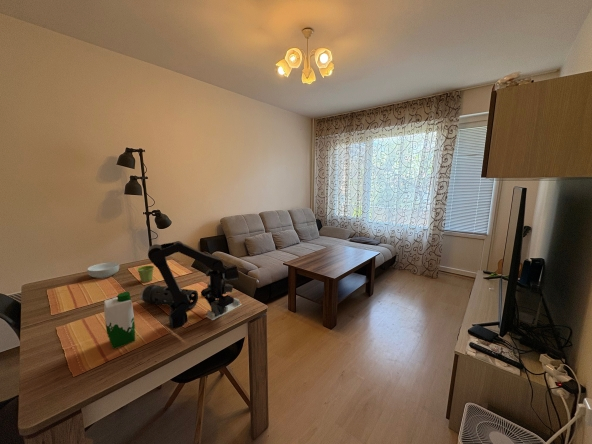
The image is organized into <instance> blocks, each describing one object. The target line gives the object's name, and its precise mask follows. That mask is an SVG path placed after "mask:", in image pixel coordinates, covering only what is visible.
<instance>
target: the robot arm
mask: <svg viewBox="0 0 592 444" xmlns="http://www.w3.org/2000/svg"><path fill="white" fill-rule="evenodd" d="M176 253H180V254H182V255H185V256H186V257H188V258H191V259H192V260H195V261H197V262H200V263H202V264H203V265H204V266H206V267H207V268H209V269H207V270H206V272H205V273H204V274H205V276H206V277H209V283H210V285H208V284H207V285H208V288H207V287H205V288H203V289H202V290H201V291H200V296H201V297H203V298H204V299H205V300H206V302H207V304H209V306H210V307H211V303H212V302H214V301H216V299H219V303H218V304H217V307H218V310H219V312H220V314H221V315H222V314H223V312H224V309H225V306H227V305H229V304H231V303H233V302H234V298H235V297H233V296H231V295H229V294H227V293H232V292H233V288H234V285H232V284H230V283H227V282H228V281H233V280H238V279H239V276H240V274H239V271H238V266H237V265H236V264H235V265H231V266H225V264H224V262H223V260H221V259H220V256H216V255H213V254H210V253H209V254H208V253H205V252H203V251H200V250H198V249H196V248H195V247H192V246H190V245H187V244H185V243H183V242H182V241H180V240H177V241H173V242H168V243H166V242H165V243H161V244H158V243H157V244H155V243H154V244H152V245H151V246H150V247H149V248H148V251H147V258H148V259H149V261H150V262H151V263H152V264H153V266H154V267H156V268H157V269H158V271H159V273H160V275H161V277H162V279H163V281H164V283H165V285H166V287H168V289H169V290H170V292H171V294H172V298H173V303H172V304H171V305H170V306H169V314H168V321H169V327H170V328H172V329H173V330H174V329H176V328H177V329H178V328H182V327H183V326H185V324H186V323H188V321H189V320H188V313H187V310H188V309H190V308H189V302H190V299H189V296H188V295H187V293H186V290H183V291H182V290H181V289H182V288H180V286H179V284H178V281H177V280H176V278H175V276H174V274H173V272H172V270H171V268H170V266H169V264H168V261H167V258H168V257H169V256H172V255H174V254H176ZM226 281H227V282H226ZM222 316H223V315H222Z"/></svg>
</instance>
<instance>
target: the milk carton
mask: <svg viewBox="0 0 592 444" xmlns="http://www.w3.org/2000/svg"><path fill="white" fill-rule="evenodd" d="M103 308H104V312H103V314H104V321H105V329H106V334H107V337H108V339H109V342H110V344H111V347H112V350H115V349H118V348H120V347H123V346H125V345H128V344H130V343H133V342H135V341H136V324H135V323H136V322H135V316H134V308H133V301H132V297H131V292H130V291H124V292H121V293H118V294H117V297H116V296H114V297H112V298H110V299H106V300H104V307H103Z"/></svg>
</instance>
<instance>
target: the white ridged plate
mask: <svg viewBox="0 0 592 444" xmlns="http://www.w3.org/2000/svg"><path fill="white" fill-rule="evenodd" d="M233 298H234V302H233V303H231V304H229V305H227V306H225V309H224V313H223V314H222V315H219V316H217V317H216V316H215V314H214V313H213V312H211V309H210V310H209V309H208V310H207V314H206V315H205V318H207V319H210V320H211V321H214V320H216V319H219V318H220V317H222V316H224V315H226V314H227V313H229V312H231V311H233V310H234V309H236V308H238V307H240V306H242V305H243V304H242V303H241V300H240V299H239V298H237V297H233Z"/></svg>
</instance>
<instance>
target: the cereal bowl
mask: <svg viewBox="0 0 592 444" xmlns="http://www.w3.org/2000/svg"><path fill="white" fill-rule="evenodd" d="M119 269H120V264H119V263H118V262H111V261H110V262H104V263H97V264H94V265H91V266H88V267H87V270H86V271H87V274H88V275H89V276H90V277H92V278H98V279H106V278H109V277H111V276H112V275H114V274H117V272H118V271H120V270H119Z"/></svg>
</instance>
